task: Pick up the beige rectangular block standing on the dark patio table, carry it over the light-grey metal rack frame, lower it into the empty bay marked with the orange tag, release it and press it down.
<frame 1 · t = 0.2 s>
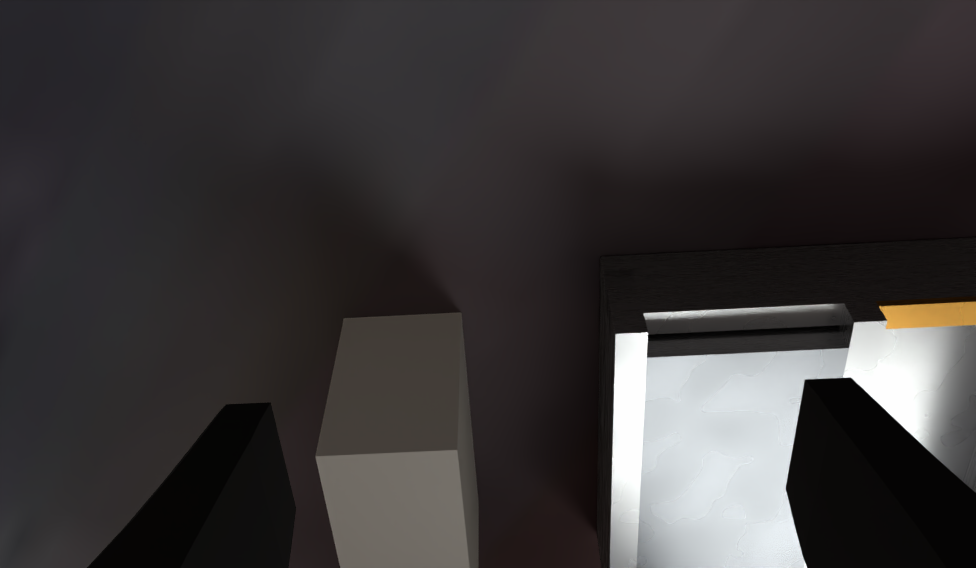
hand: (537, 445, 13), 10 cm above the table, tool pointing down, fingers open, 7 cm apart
beige rectangular block: (416, 415, 26), on the table
rack: (856, 398, 25), on the table
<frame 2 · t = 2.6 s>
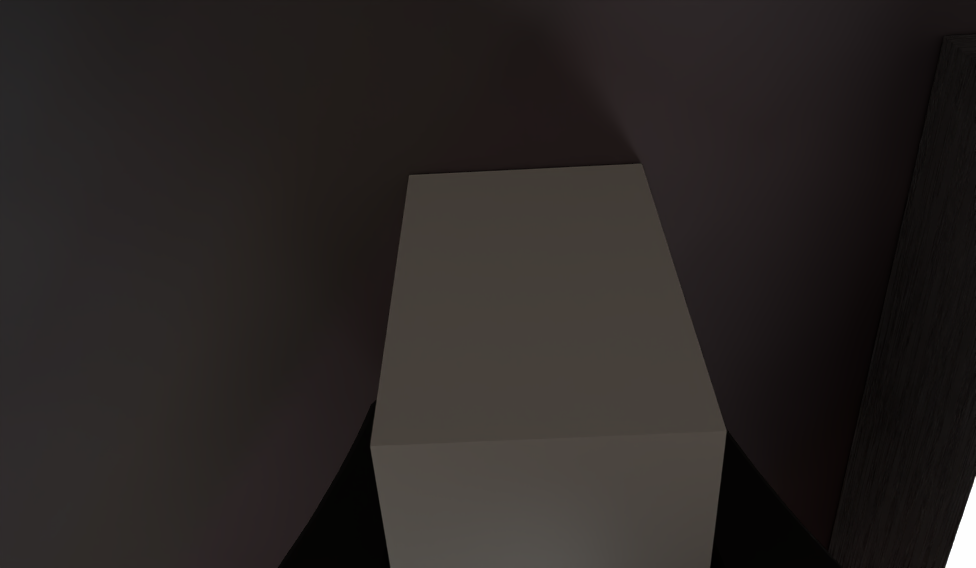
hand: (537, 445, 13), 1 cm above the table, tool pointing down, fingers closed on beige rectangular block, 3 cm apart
beige rectangular block: (532, 379, 14), on the table, touching gripper
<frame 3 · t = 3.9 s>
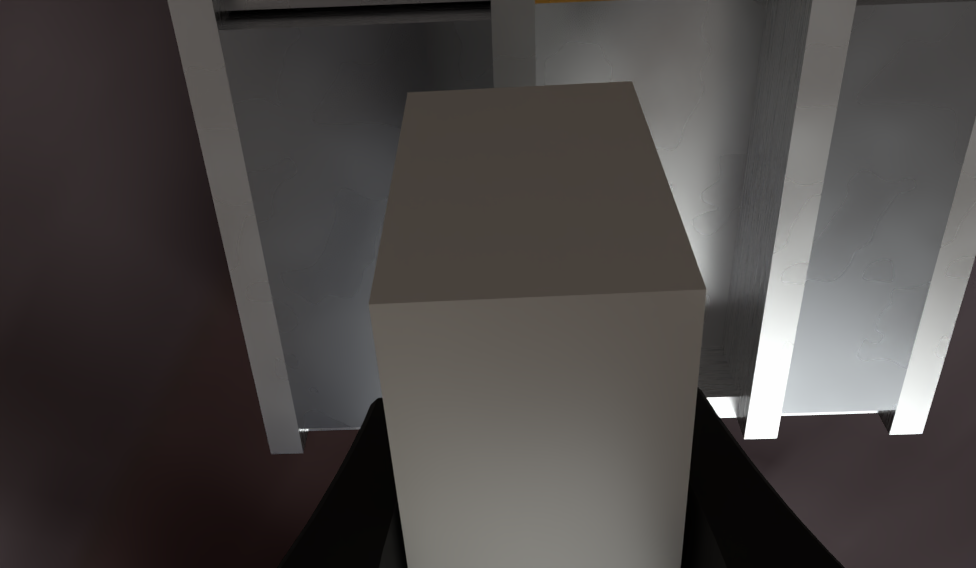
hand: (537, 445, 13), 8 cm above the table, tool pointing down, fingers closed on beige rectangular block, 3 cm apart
beige rectangular block: (527, 302, 14), point 6 cm above the table, touching gripper
rack: (586, 169, 20), on the table
when the fingers open (4 cm above the table, at t = 5.7 s): beige rectangular block stays where it is, resting on rack.
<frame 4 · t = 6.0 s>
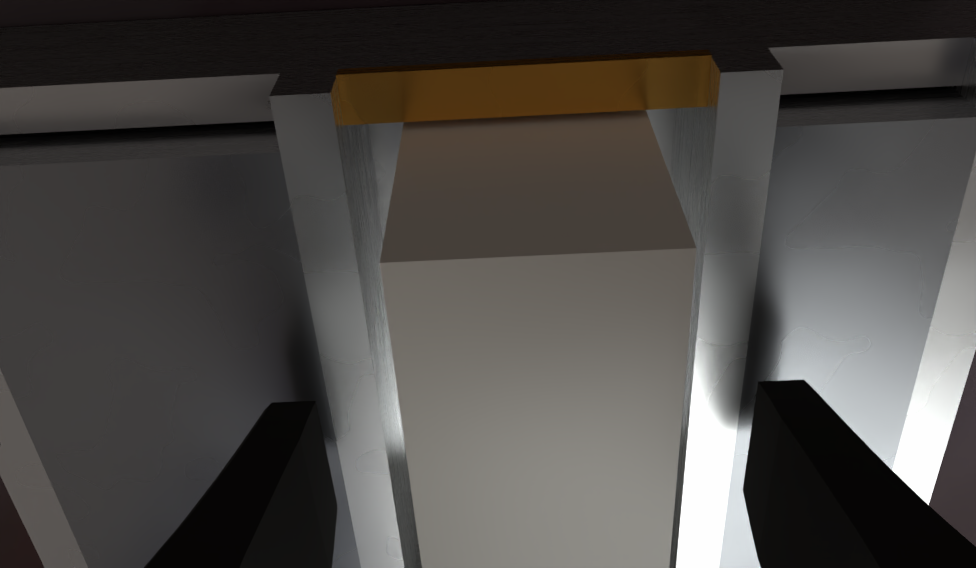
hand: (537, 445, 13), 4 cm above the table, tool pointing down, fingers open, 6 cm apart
beige rectangular block: (527, 274, 15), point 1 cm above the table, touching rack
rack: (468, 296, 16), on the table
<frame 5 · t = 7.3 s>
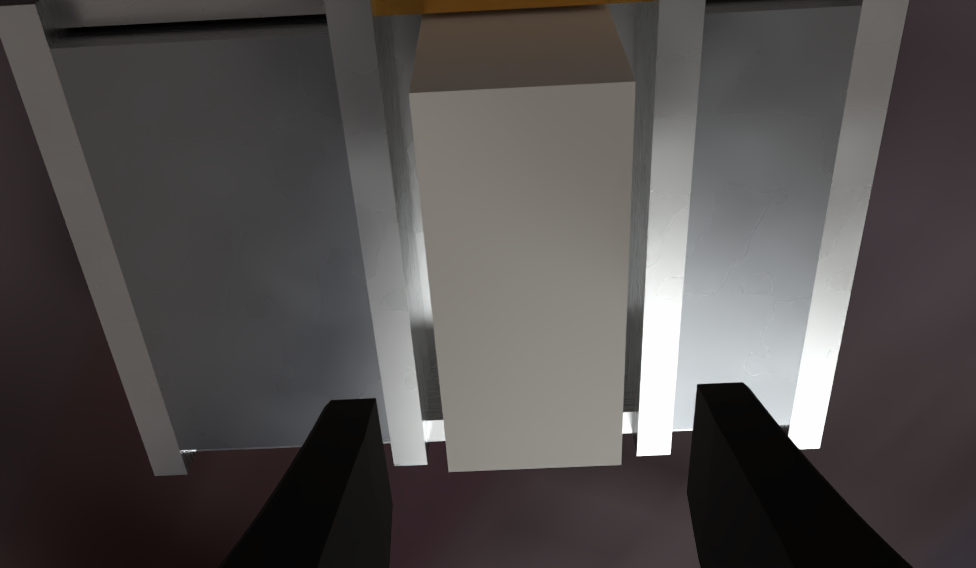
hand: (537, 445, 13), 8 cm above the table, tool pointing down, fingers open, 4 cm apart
beige rectangular block: (518, 158, 18), point 1 cm above the table, touching rack
rack: (470, 181, 19), on the table
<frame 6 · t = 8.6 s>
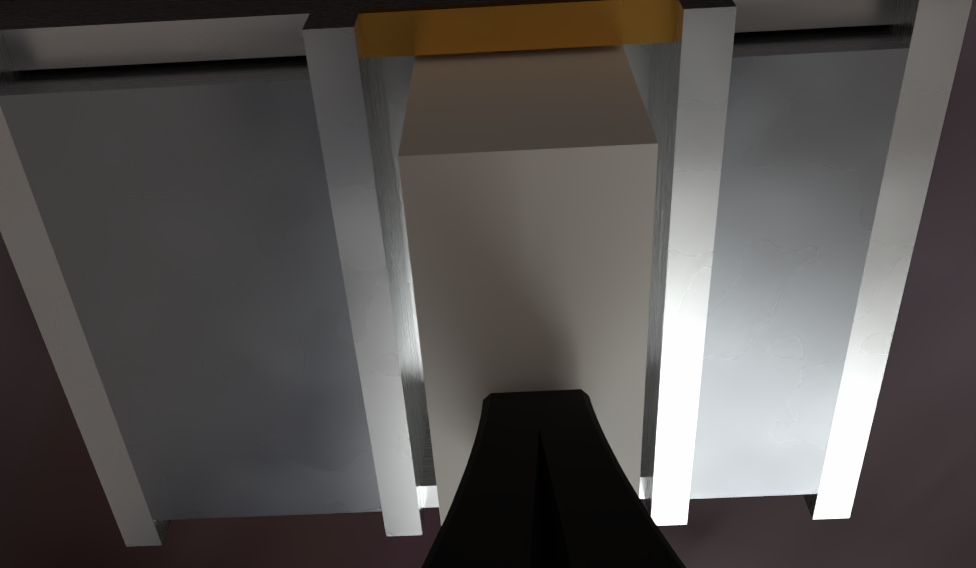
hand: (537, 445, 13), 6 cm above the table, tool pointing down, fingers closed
beige rectangular block: (522, 205, 17), point 1 cm above the table, touching rack
rack: (469, 228, 18), on the table
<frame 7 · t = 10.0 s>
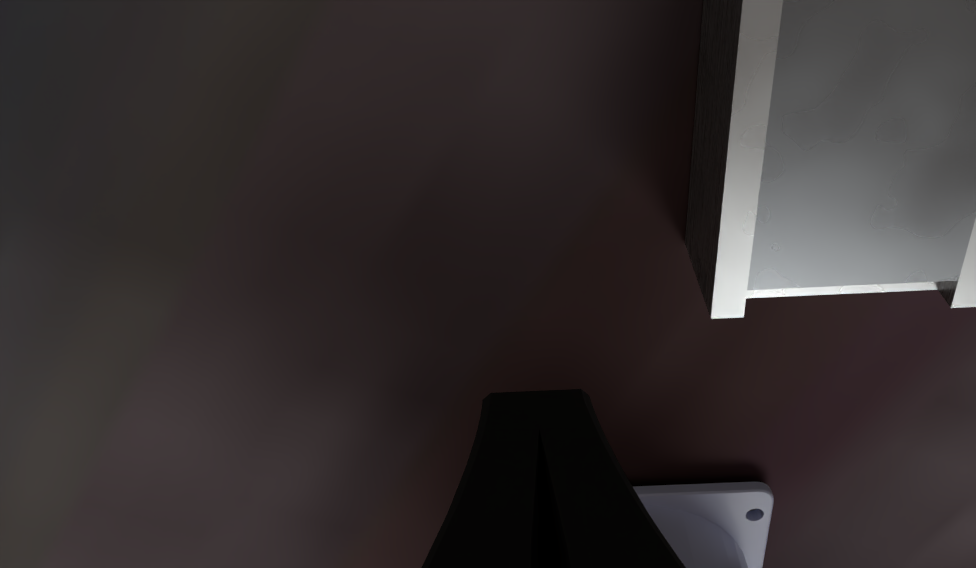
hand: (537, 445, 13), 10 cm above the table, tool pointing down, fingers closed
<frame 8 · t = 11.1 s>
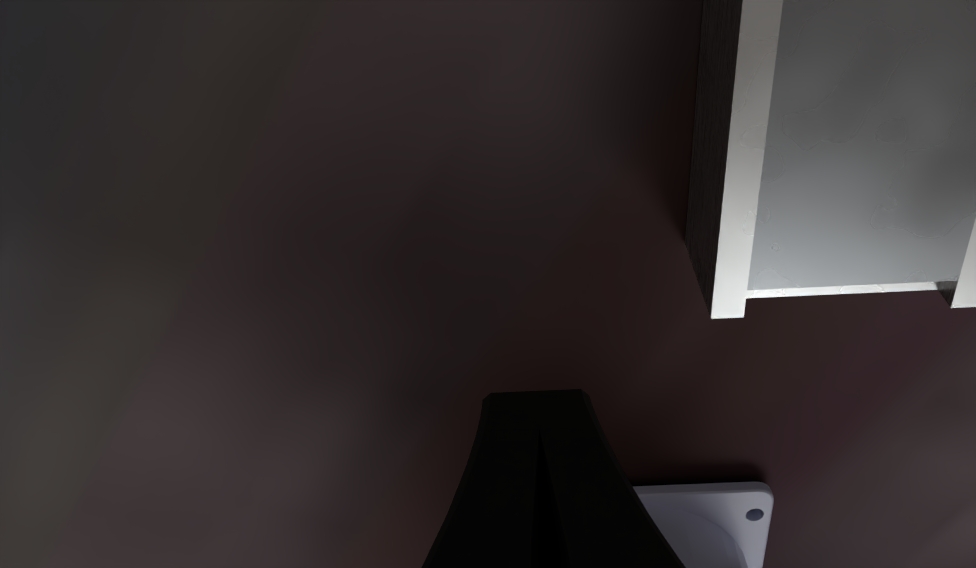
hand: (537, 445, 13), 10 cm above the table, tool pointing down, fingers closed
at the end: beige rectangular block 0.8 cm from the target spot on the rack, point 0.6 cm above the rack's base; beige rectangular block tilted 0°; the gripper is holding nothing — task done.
